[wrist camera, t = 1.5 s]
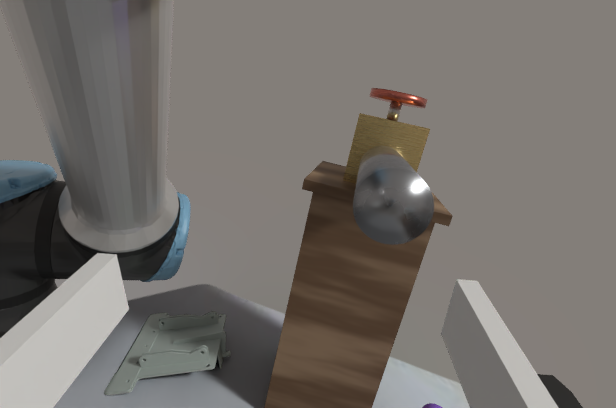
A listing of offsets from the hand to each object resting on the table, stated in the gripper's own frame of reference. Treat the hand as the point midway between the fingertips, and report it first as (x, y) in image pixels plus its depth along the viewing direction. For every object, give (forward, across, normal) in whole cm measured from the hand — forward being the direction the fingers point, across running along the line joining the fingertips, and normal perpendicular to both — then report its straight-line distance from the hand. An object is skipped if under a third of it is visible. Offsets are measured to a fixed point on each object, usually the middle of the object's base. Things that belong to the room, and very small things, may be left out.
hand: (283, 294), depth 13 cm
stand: (+21, +3, -34) cm, 40 cm away
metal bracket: (+22, -17, -32) cm, 42 cm away
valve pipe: (+18, +6, -3) cm, 20 cm away
